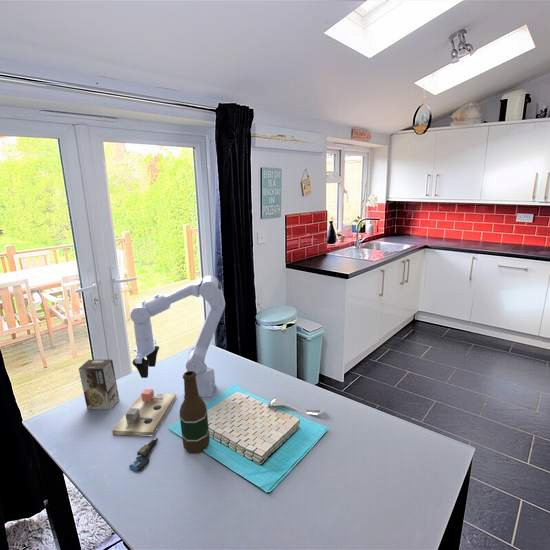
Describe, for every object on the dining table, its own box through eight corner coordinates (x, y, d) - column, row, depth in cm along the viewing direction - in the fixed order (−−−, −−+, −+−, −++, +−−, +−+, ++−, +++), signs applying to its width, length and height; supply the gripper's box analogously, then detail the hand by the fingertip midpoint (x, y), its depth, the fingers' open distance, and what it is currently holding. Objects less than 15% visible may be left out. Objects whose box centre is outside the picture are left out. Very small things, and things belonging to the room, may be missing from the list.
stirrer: (325, 401, 120) (322, 409, 116) (326, 410, 121) (323, 419, 117) (269, 394, 127) (264, 401, 123) (270, 403, 128) (265, 411, 124)
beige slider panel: (176, 397, 131) (174, 385, 130) (152, 436, 112) (150, 422, 111) (141, 396, 132) (140, 384, 131) (113, 434, 113) (110, 420, 112)
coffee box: (120, 399, 131) (113, 359, 127) (110, 410, 125) (103, 368, 121) (96, 398, 132) (88, 358, 128) (85, 409, 126) (77, 368, 122)
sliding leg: (164, 396, 128) (163, 389, 128) (161, 402, 126) (160, 394, 125) (146, 396, 129) (144, 388, 128) (142, 401, 126) (141, 393, 125)
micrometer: (138, 469, 98) (124, 464, 99) (139, 474, 98) (125, 470, 100) (166, 439, 108) (153, 435, 110) (167, 444, 109) (154, 440, 110)
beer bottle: (215, 440, 109) (208, 369, 103) (199, 458, 102) (191, 383, 96) (194, 433, 112) (186, 364, 106) (177, 450, 106) (168, 377, 99)
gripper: (140, 328, 134) (145, 361, 138) (124, 346, 120) (129, 382, 124) (159, 328, 134) (163, 361, 138) (145, 346, 120) (149, 382, 124)
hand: (148, 371), depth 131 cm, fingers open, 7 cm apart
